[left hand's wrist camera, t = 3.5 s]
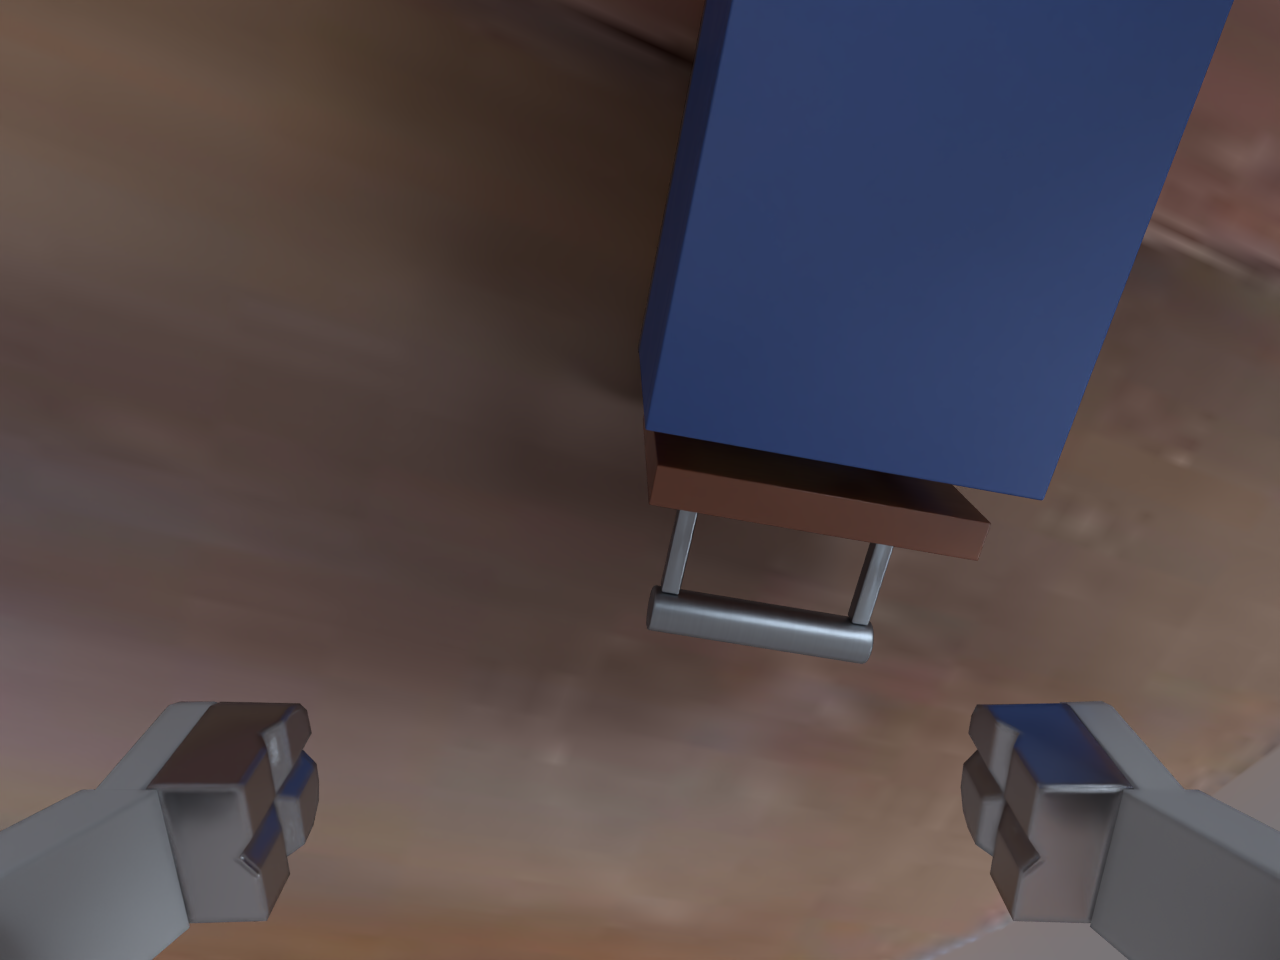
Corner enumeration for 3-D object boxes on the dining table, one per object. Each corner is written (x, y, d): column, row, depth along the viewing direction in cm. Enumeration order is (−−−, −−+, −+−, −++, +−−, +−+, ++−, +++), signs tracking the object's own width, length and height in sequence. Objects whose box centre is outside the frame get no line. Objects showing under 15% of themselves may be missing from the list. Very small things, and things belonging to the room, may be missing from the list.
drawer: (853, 595, 34) (919, 722, 26) (615, 556, 33) (612, 674, 26) (1094, -175, 25) (1297, -318, 18) (777, -253, 24) (847, -439, 17)
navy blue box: (920, 400, 32) (1043, 501, 23) (637, 347, 31) (644, 430, 22) (1143, -310, 25) (1463, -596, 15) (782, -405, 24) (887, -770, 15)
